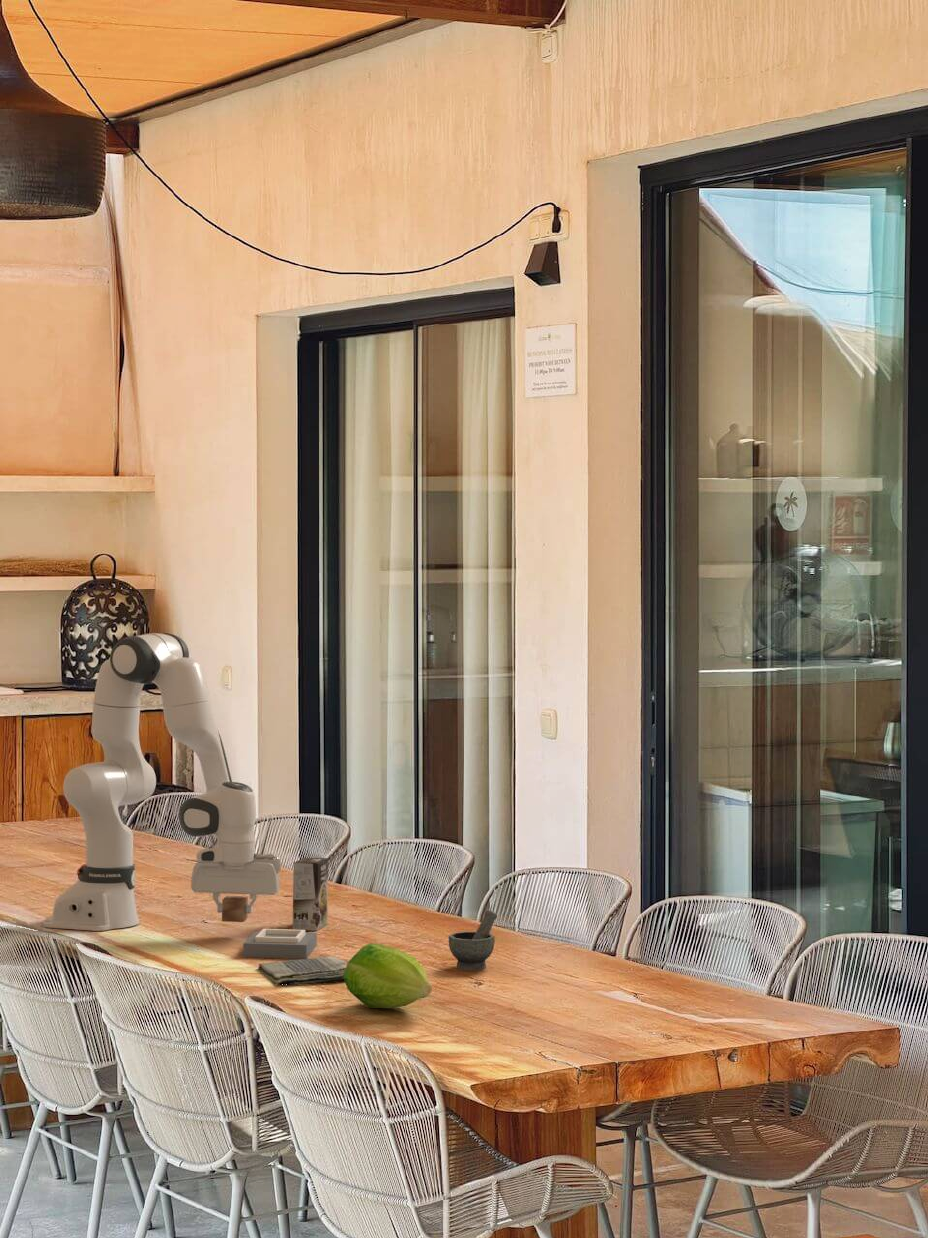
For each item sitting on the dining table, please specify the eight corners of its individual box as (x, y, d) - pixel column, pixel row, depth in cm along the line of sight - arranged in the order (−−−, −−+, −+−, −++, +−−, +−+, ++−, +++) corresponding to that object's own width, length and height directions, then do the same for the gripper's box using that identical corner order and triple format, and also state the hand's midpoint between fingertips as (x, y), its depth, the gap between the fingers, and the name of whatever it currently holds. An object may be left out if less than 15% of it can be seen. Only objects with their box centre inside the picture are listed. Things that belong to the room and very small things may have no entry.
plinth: (243, 957, 395) (243, 938, 395) (255, 944, 409) (255, 926, 409) (306, 958, 394) (306, 940, 394) (316, 946, 408) (316, 928, 408)
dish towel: (255, 971, 383) (255, 956, 383) (336, 966, 390) (336, 951, 390) (278, 990, 366) (278, 974, 366) (362, 984, 372) (362, 969, 372)
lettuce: (397, 1026, 335) (398, 962, 335) (331, 1006, 350) (331, 945, 350) (453, 1015, 344) (453, 952, 344) (386, 996, 359) (387, 936, 359)
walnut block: (221, 921, 414) (222, 899, 414) (226, 917, 419) (226, 896, 419) (243, 922, 414) (243, 900, 414) (247, 918, 419) (247, 896, 419)
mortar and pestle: (464, 974, 380) (464, 917, 380) (440, 966, 388) (440, 910, 388) (507, 968, 386) (508, 913, 386) (483, 960, 394) (484, 906, 394)
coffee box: (317, 931, 425) (318, 863, 425) (291, 930, 426) (292, 862, 426) (328, 924, 434) (329, 857, 434) (302, 923, 435) (303, 856, 435)
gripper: (282, 852, 419) (281, 911, 419) (195, 849, 420) (194, 908, 420) (278, 856, 412) (277, 917, 413) (189, 853, 414) (188, 913, 414)
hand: (234, 912), depth 417 cm, fingers closed on walnut block, 5 cm apart
